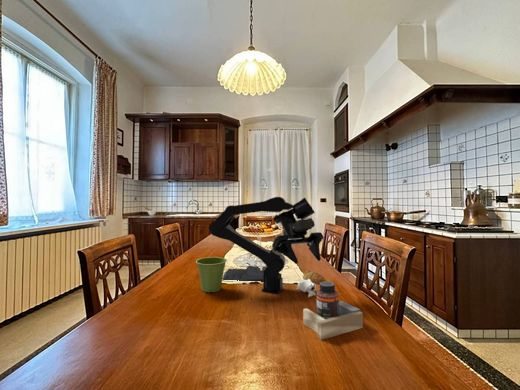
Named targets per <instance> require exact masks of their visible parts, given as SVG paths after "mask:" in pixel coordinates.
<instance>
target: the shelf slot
mask: <svg viewBox="0 0 520 390" xmlns="http://www.w3.org/2000/svg"><path fill="white" fill-rule="evenodd" d="M302 310H303V311H302V320H303V321H302V324H303V325H304V326H306V327H308V328H309V329H310V330H312V332H315V333H316V334H317V338H318V339H319V341H323V340H327V339H330V338H333V337H336V336H339V335H343V334H346V333H350V332H352V331H353V332H354V331H356V330H359V329H362V328H364V318H363V317H364V316H363V314H364V313H363V311H361V309H360V308H358V307H356V306H353V305H351V304H349V303H347V302H345V301H343V300H339V316H338V317H334V318H330V319H324V318H322V317H321V316H319V315H317V312H316V313H315V312H314V311H312V310H310V309H309V308H303V309H302Z"/></svg>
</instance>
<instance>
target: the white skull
mask: <svg viewBox="0 0 520 390" xmlns="http://www.w3.org/2000/svg"><path fill="white" fill-rule="evenodd" d="M316 285H317V284H315V283H312V282H311V280H310V279H308V280H304V279H301V280H299V282H298V283H297V288H296V289H297V290H300V291H302V293H308V295H307V296H308V298H310V297H313V296H314V297H316V292H315V291H316V289H317V286H316Z"/></svg>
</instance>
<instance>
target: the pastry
mask: <svg viewBox="0 0 520 390" xmlns="http://www.w3.org/2000/svg"><path fill="white" fill-rule="evenodd" d="M308 279H310V280H311V282H312V283H313V284H314V283H315V285H320V283H321V282H326V278H325V277H324V276H323V275H322V274H319V272H317V271H311V270H306V271H305V272H304V273H303V275H302V280H308Z"/></svg>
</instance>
